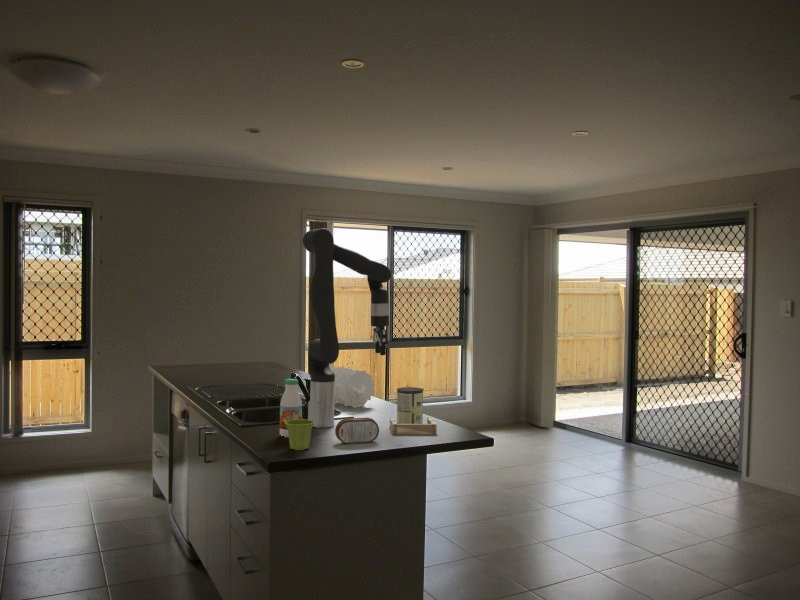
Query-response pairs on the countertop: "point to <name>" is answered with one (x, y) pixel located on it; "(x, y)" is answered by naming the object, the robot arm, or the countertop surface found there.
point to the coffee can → (409, 405)
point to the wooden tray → (413, 427)
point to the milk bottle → (290, 405)
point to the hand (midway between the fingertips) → (380, 354)
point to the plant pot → (299, 433)
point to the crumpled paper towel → (352, 386)
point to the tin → (357, 430)
